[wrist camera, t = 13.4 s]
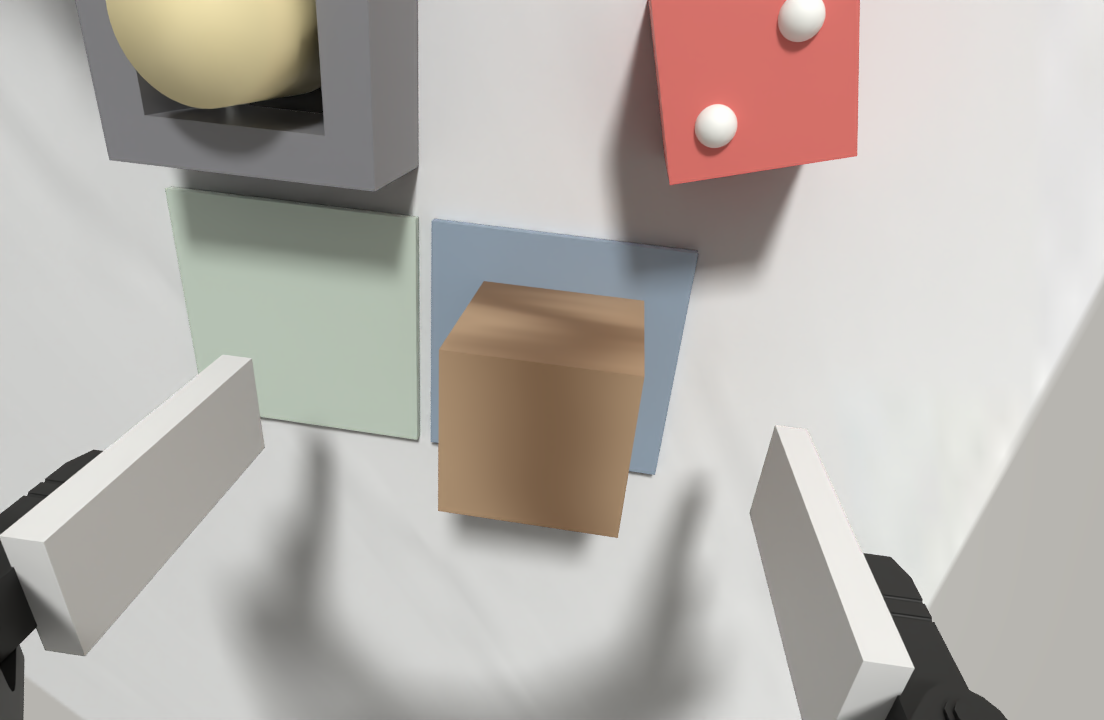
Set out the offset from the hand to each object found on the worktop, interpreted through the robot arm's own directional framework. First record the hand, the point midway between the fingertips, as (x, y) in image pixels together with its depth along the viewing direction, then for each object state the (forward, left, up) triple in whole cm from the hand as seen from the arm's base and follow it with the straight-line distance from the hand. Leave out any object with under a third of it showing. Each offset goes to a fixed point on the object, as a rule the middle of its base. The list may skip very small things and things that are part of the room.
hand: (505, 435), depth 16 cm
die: (+5, +9, -6) cm, 11 cm away
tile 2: (+1, 0, -6) cm, 6 cm away
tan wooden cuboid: (+1, 0, -5) cm, 5 cm away
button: (-7, +9, -5) cm, 12 cm away
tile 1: (-8, 0, -6) cm, 10 cm away
